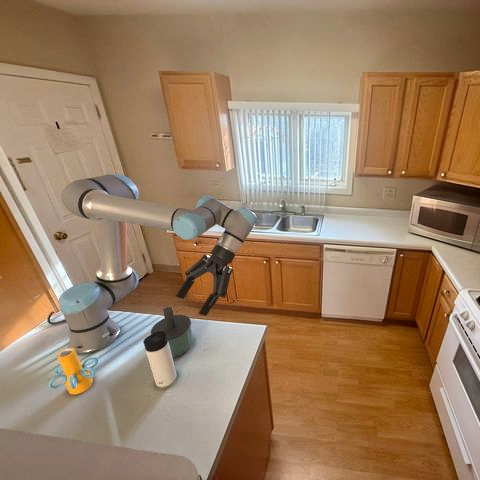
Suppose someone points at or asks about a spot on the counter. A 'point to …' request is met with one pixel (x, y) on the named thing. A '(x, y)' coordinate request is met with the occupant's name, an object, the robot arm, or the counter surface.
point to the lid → (172, 324)
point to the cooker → (181, 343)
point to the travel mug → (160, 359)
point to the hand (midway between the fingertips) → (190, 305)
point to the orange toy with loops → (73, 372)
